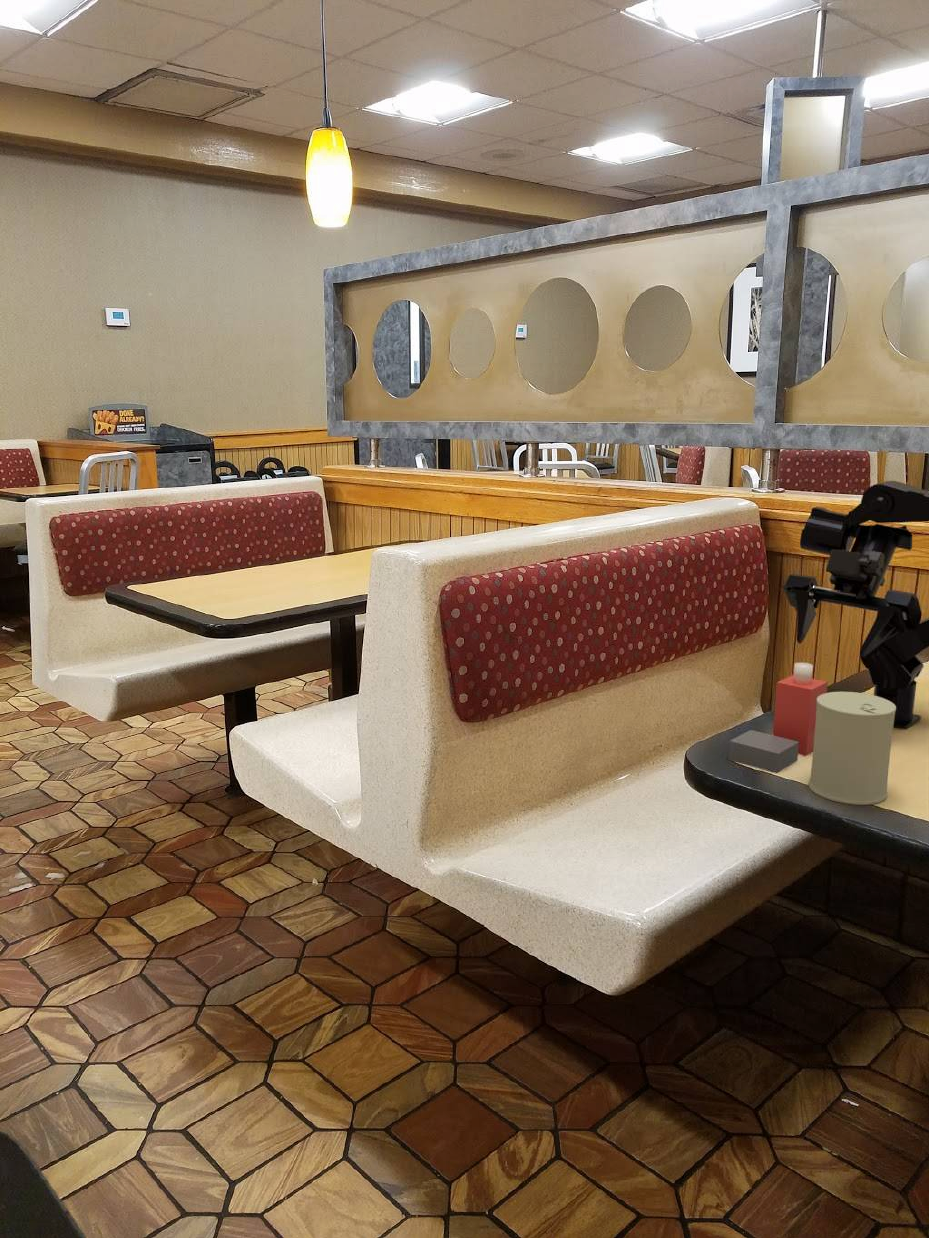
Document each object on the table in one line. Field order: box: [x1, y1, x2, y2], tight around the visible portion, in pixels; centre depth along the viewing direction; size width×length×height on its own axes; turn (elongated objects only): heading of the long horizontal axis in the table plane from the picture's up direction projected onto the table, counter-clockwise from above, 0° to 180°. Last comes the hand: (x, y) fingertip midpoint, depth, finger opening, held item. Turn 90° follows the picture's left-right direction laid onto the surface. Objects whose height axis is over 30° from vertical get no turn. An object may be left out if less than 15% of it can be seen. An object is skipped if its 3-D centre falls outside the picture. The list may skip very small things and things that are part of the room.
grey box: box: [728, 729, 799, 774], centre depth 131 cm, size 6×7×3 cm
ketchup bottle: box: [772, 662, 829, 757], centre depth 135 cm, size 5×5×12 cm
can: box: [808, 691, 896, 806], centre depth 120 cm, size 9×9×12 cm
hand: (829, 648), depth 139 cm, fingers open, 9 cm apart
